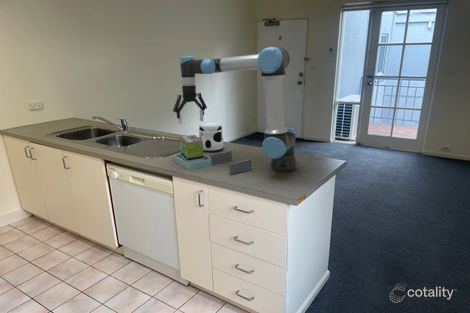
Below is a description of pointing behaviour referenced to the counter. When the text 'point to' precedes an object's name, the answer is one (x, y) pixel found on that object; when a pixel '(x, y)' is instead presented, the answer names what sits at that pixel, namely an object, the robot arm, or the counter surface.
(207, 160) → the tray
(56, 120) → the counter surface
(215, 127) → the milk container
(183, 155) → the tea box
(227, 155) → the dock
